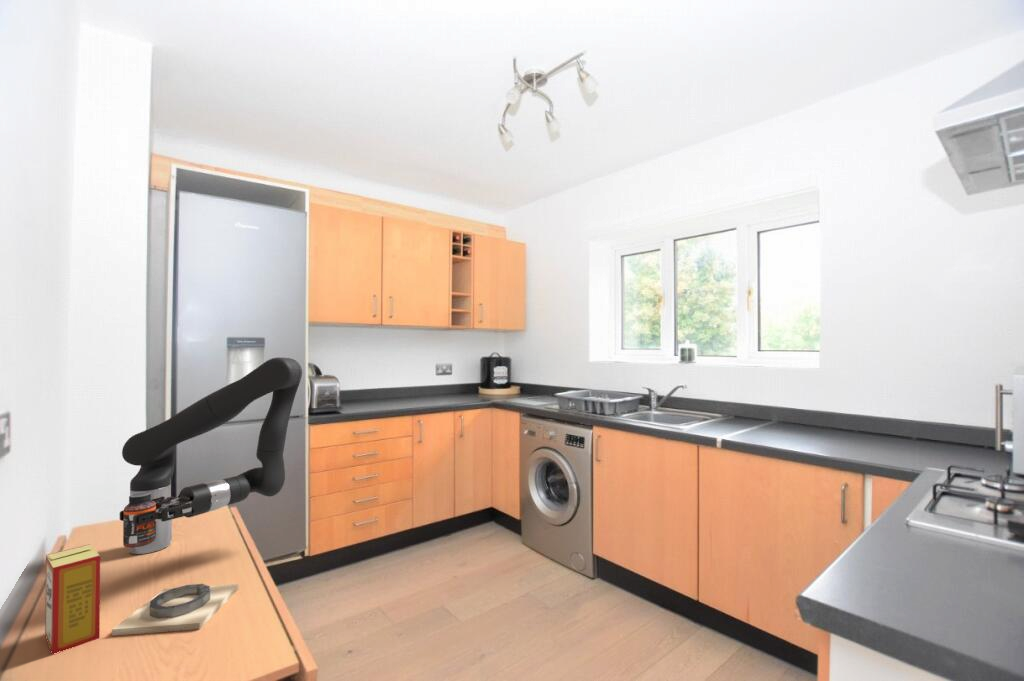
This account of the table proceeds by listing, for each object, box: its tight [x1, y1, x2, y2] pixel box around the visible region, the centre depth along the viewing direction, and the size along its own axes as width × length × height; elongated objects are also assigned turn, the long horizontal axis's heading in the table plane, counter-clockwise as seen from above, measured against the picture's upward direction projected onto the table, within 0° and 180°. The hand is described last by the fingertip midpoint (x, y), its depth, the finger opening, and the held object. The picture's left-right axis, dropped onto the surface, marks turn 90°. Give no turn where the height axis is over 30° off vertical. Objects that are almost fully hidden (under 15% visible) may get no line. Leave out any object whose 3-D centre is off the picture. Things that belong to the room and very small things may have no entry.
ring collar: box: [150, 583, 211, 619], centre depth 100 cm, size 10×10×2 cm
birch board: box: [111, 583, 239, 636], centre depth 100 cm, size 16×16×1 cm
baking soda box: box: [44, 544, 101, 655], centre depth 91 cm, size 10×6×16 cm
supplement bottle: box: [122, 492, 156, 549], centre depth 108 cm, size 6×6×11 cm
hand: (127, 518), depth 106 cm, fingers closed on supplement bottle, 6 cm apart
